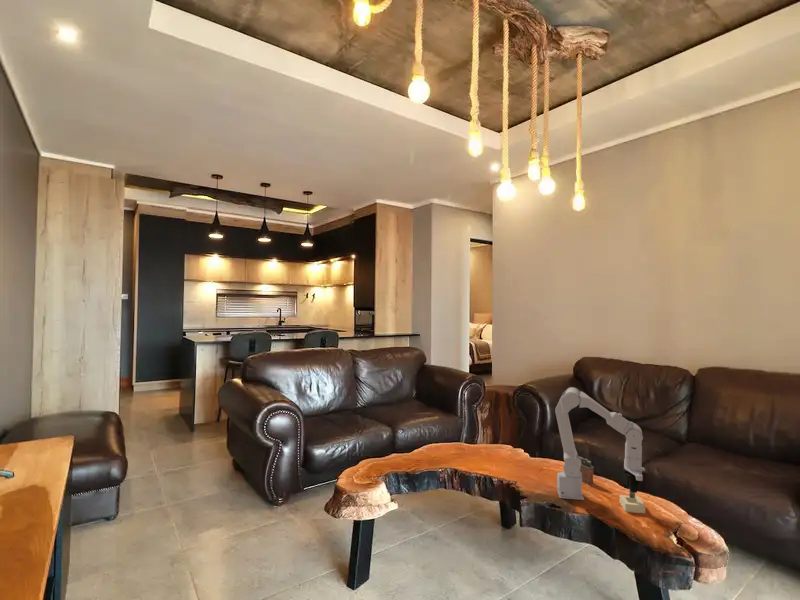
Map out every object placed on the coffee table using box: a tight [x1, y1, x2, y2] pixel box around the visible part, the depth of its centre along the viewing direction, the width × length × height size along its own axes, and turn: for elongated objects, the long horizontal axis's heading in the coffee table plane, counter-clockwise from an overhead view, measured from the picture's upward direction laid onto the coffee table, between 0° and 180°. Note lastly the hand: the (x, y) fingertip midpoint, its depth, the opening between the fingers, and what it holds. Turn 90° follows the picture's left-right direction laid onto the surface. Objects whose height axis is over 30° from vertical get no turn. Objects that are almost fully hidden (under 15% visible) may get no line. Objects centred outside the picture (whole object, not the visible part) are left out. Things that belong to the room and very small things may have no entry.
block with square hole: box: [619, 494, 646, 514], centre depth 165 cm, size 7×7×3 cm
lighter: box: [579, 456, 595, 486], centre depth 187 cm, size 8×3×10 cm, turn 30°
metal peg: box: [628, 488, 636, 498], centre depth 165 cm, size 2×2×9 cm
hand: (632, 490), depth 165 cm, fingers closed on metal peg, 2 cm apart
